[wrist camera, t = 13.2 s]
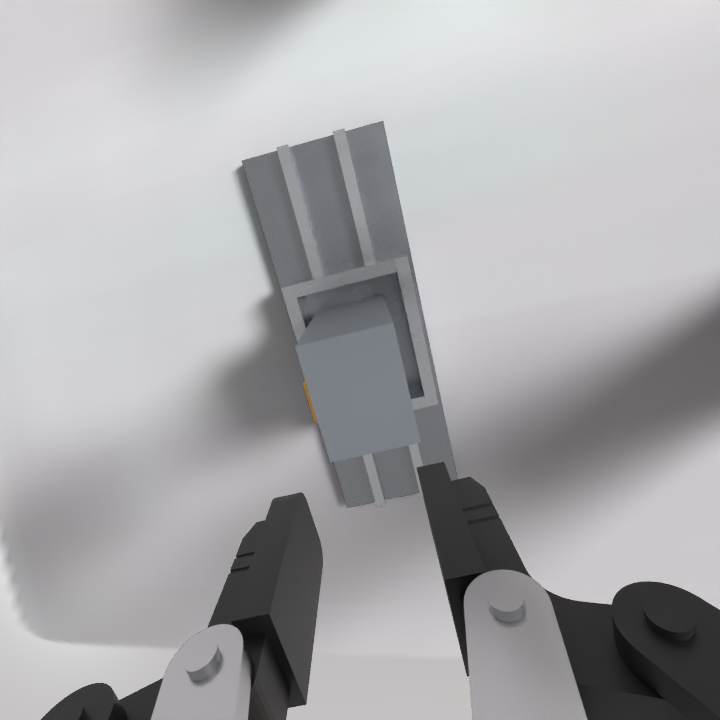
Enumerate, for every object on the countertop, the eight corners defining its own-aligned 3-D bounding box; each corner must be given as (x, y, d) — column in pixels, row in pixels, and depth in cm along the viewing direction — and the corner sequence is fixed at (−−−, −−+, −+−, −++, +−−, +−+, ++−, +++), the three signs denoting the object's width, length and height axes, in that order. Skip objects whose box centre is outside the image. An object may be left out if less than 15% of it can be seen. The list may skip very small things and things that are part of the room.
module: (400, 375, 29) (420, 442, 19) (336, 390, 29) (324, 463, 19) (381, 294, 27) (393, 322, 17) (313, 311, 27) (288, 348, 18)
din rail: (456, 478, 32) (464, 499, 29) (347, 501, 33) (346, 524, 30) (382, 124, 25) (385, 110, 22) (245, 163, 25) (231, 153, 23)
